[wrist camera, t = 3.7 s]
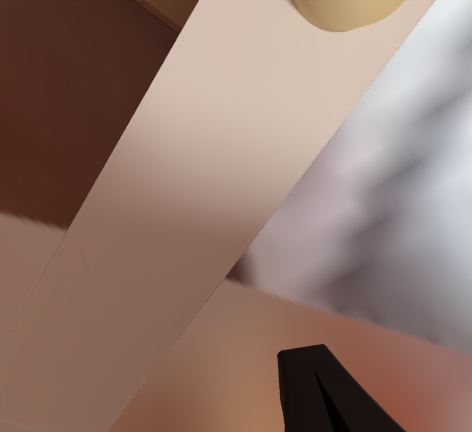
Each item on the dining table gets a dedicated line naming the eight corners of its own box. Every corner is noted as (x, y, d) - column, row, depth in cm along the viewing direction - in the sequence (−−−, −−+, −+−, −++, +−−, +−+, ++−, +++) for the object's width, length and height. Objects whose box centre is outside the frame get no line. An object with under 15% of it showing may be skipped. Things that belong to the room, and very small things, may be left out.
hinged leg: (279, -113, 6) (358, -293, 3) (380, -11, 7) (521, -79, 4) (27, 320, 9) (-58, 443, 6) (118, 357, 9) (84, 481, 6)
